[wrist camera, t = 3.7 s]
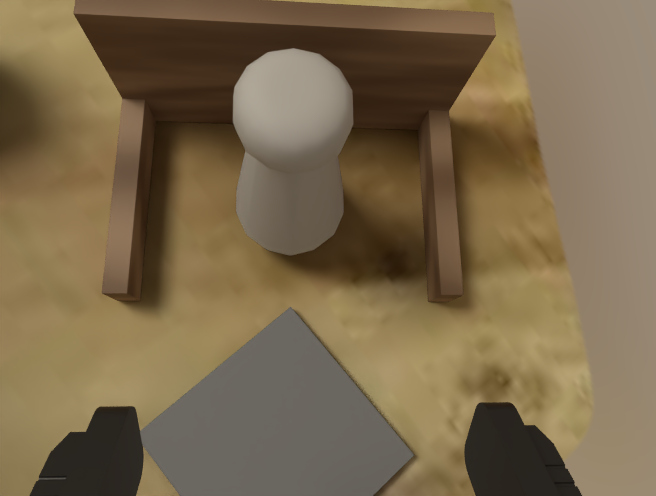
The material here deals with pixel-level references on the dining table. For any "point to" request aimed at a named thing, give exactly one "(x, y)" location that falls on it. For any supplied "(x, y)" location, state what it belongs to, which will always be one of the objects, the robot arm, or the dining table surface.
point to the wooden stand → (250, 44)
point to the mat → (276, 425)
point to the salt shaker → (291, 149)
